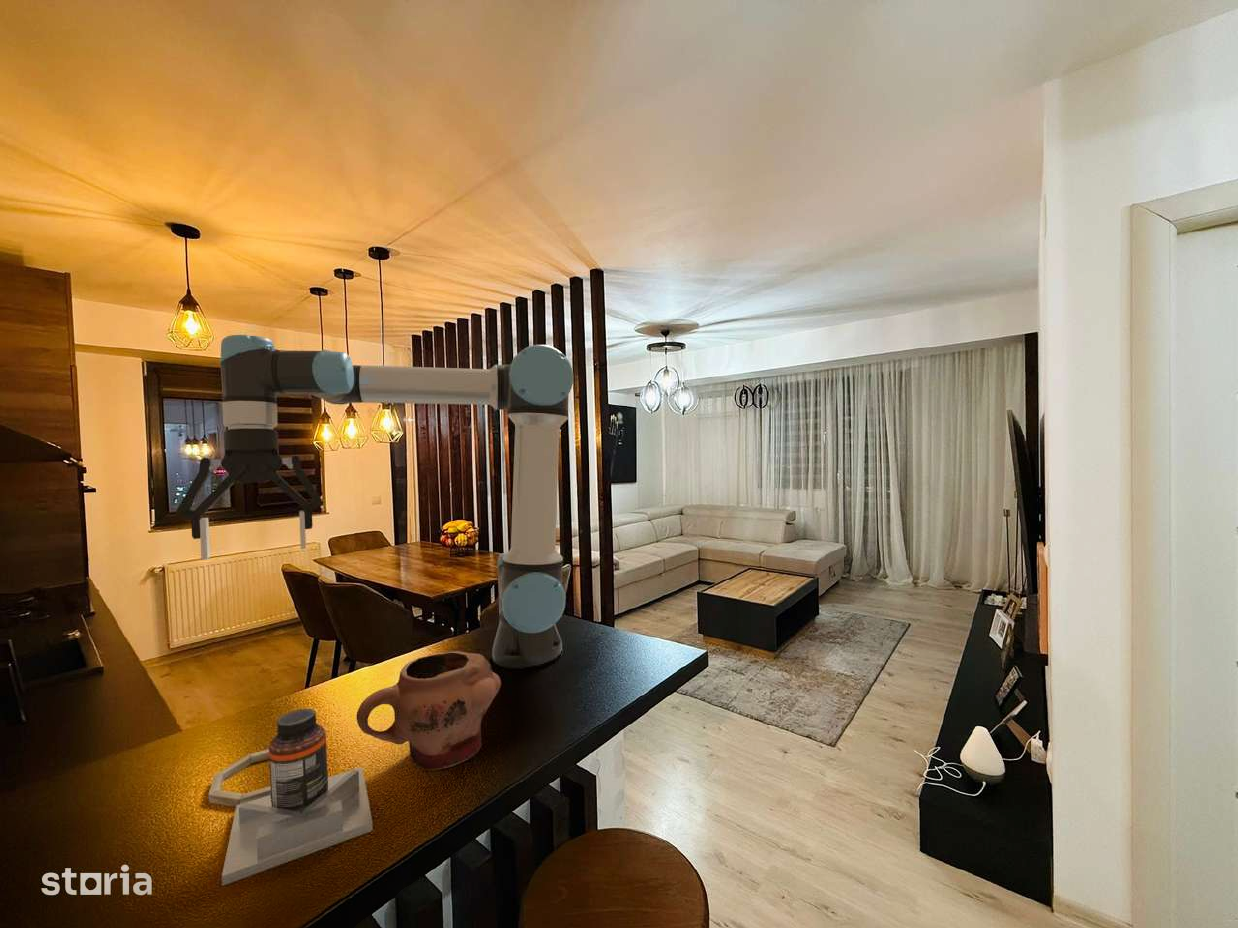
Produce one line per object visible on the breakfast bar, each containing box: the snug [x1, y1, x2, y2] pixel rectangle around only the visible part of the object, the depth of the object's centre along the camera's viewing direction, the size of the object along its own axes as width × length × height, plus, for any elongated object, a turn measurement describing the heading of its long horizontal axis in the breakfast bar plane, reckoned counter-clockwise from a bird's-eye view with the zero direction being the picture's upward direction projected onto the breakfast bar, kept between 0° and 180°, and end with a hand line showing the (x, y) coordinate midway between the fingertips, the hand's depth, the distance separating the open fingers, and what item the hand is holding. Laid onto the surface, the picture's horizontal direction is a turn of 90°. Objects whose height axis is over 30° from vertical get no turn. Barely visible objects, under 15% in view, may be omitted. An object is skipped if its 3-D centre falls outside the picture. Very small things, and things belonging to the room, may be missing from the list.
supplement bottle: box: [268, 708, 329, 812], centre depth 63 cm, size 6×6×11 cm
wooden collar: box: [208, 748, 271, 808], centre depth 71 cm, size 12×12×1 cm
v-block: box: [221, 766, 374, 887], centre depth 62 cm, size 13×14×4 cm
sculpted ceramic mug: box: [356, 650, 502, 771], centre depth 74 cm, size 20×12×14 cm, turn 130°
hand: (256, 553), depth 87 cm, fingers open, 13 cm apart
